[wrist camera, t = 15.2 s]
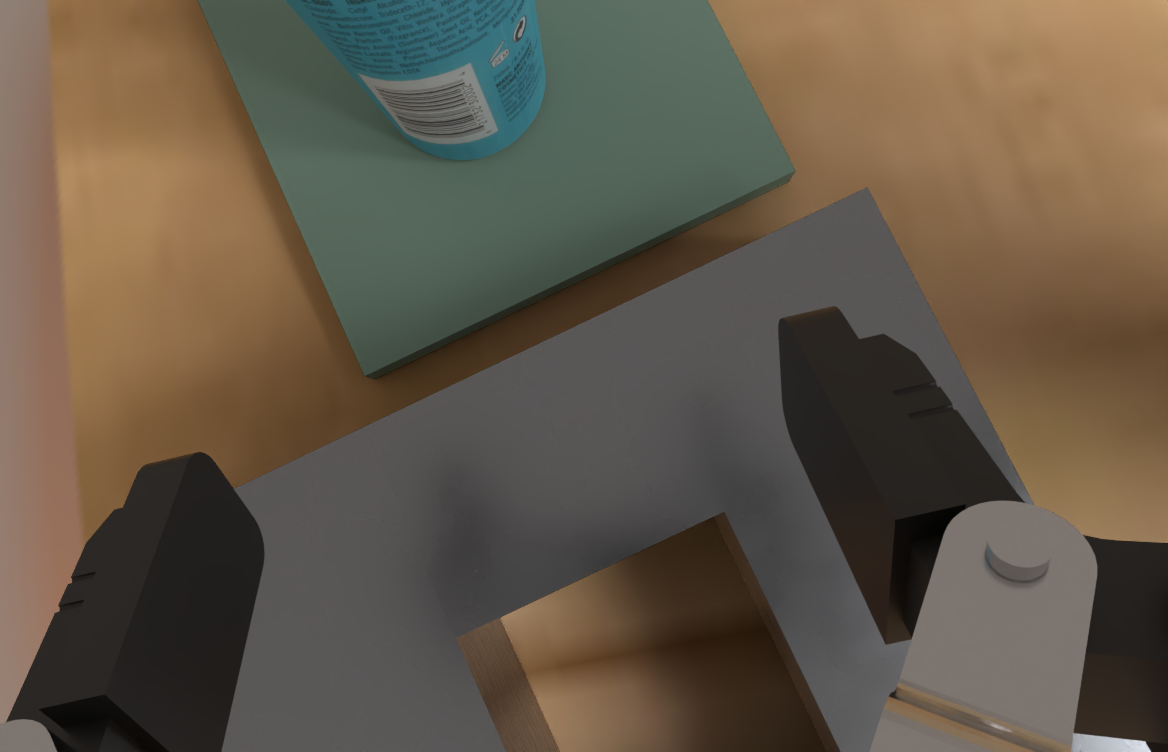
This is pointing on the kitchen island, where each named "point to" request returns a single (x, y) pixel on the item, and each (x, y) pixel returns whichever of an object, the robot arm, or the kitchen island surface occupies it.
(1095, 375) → the kitchen island surface
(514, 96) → the tube
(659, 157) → the rubber mat
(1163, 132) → the kitchen island surface
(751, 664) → the kitchen island surface
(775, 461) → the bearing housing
